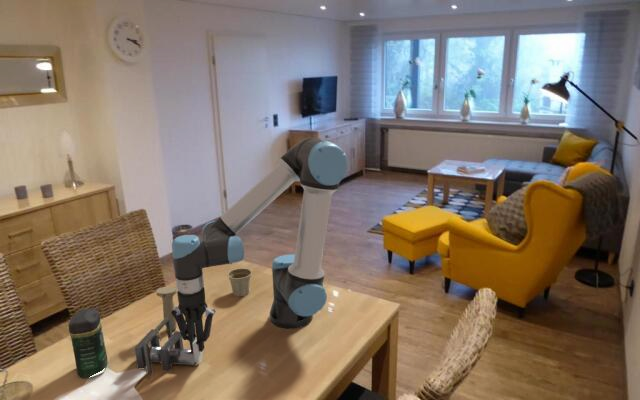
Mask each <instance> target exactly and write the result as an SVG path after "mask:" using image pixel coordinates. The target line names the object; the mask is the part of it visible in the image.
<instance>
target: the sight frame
mask: <svg viewBox="0 0 640 400" xmlns="http://www.w3.org/2000/svg"><path fill="white" fill-rule="evenodd" d="M165 324H166V325H165ZM166 326H167V329H166V332H167V337H168V338H167V340H168V339H169V338H170V337H171V336H172V335H173V331H172V328H171V320H170V316H166V318H165V319H164V318H163V320H162V321H161V322H159V324H157V326H156V327H155V328H154V330H153V331H152V332H151V334H150V335H149V336H148V337H147V338H146V339H145V340H144V341H143V347H144V354H145V360H146V372H147V375H148V376H151V375H152V374H153V372H154V371H153V366H152V365H153V364H152V362H151V358H150V351H149V346H150V343H151V342H150V341H151V340H152V338H153V337H154V336H155V335H156V338H157V339H159V340H160V339H161V334H160V331H161V330H162V329H163V328H164V327H166ZM149 342H150V343H149ZM148 343H149V344H148ZM172 348H175V346H174V345H173V347H172Z"/></svg>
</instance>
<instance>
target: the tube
mask: <svg viewBox="0 0 640 400" xmlns="http://www.w3.org/2000/svg"><path fill="white" fill-rule="evenodd" d="M161 348H162V346H160V347H156V346H151V345H149V351H150V358H151V363H152V362H153V363H161V356H160V349H161ZM169 353H170V360H171V364H172V365H174V364H175V365H184V366H185V365H187V366H197V364H198V362H195V360H194V352H193V351H191V349H190V348H189V349H188V348H183V349H179V348H175V347H173V348H171V349H170V350H169Z"/></svg>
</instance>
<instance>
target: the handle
mask: <svg viewBox="0 0 640 400" xmlns="http://www.w3.org/2000/svg"><path fill="white" fill-rule="evenodd" d="M177 291H178V290H177V286H176V287H175V286H162V287H159V288H157V289H156V291H155V293H156V296H157V297H160V298H161V301H162V313H163V320H164V319H165V318H166V316H170V320H171V328H172V332H175V331H177V330H176V329H177V328H178V325H177V322H176V319H175V318H174V316H173V315H172V314H171V312H172V311H173V309H174V308H175V307H176V306H175V302H174V296H175V295H177ZM164 326H165V329H166V330H167V326H166V324H165V325H164Z"/></svg>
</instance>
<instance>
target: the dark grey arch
mask: <svg viewBox="0 0 640 400" xmlns="http://www.w3.org/2000/svg"><path fill="white" fill-rule="evenodd" d="M173 332H174V333H173ZM173 332H172V336H171V337H170V338H169V339H168V338H167V341H166V342H165V343H164V344H163V345H162V346H161V347H162V348H161V349H160V356H161V362H160V363H161V368H162V372H170V371H171V369H172V363H171V360H170V353H169V350H170V349H171V348H172V347H173V345H174V347H173V348H179V349H184V342H183V341H184V340H183V338H182V335H181V333H180V331H177V330H175V331H173Z"/></svg>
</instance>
